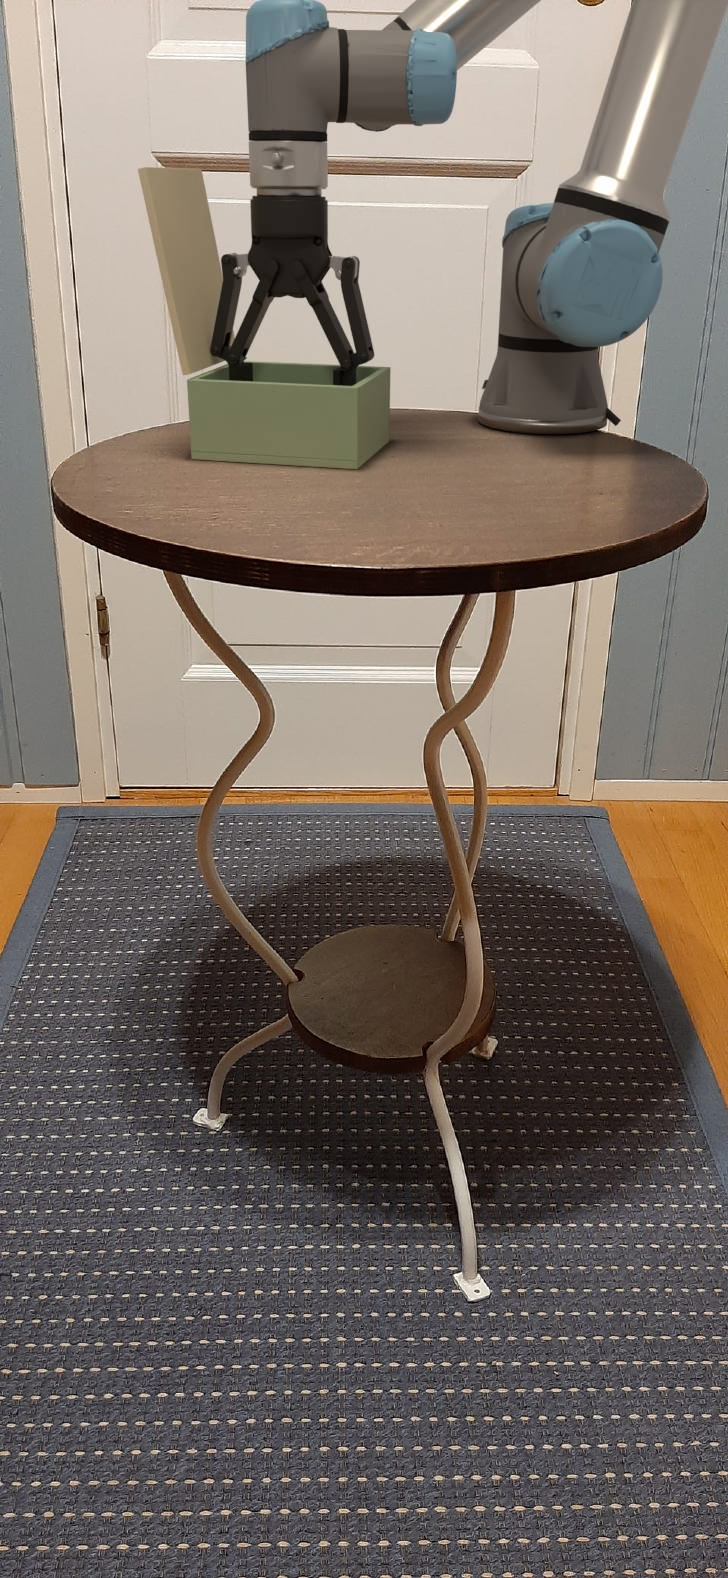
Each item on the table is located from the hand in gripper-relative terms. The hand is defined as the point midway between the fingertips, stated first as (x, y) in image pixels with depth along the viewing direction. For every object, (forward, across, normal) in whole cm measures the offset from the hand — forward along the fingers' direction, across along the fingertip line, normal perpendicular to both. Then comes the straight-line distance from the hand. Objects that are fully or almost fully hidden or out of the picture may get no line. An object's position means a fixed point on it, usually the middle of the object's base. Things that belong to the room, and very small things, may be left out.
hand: (293, 431), depth 122 cm
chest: (+2, 0, 0) cm, 2 cm away
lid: (-15, -10, 0) cm, 18 cm away
